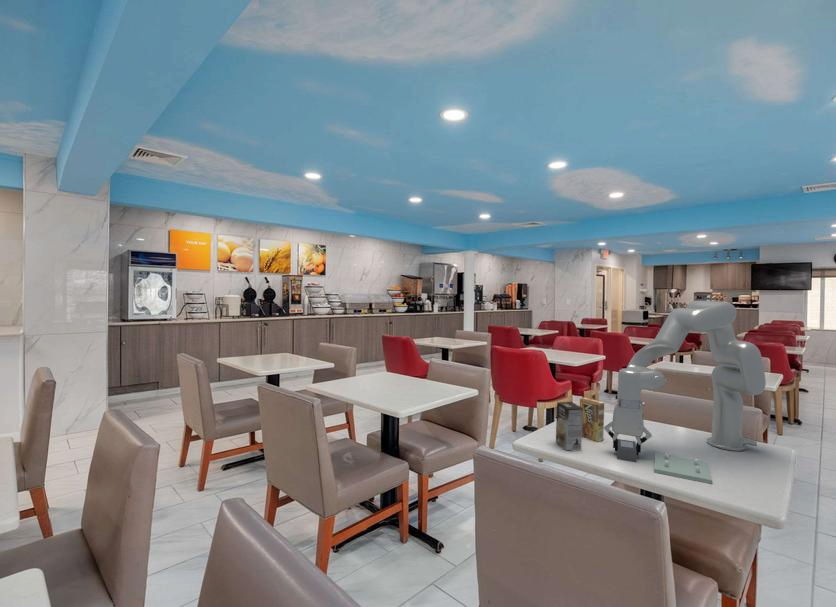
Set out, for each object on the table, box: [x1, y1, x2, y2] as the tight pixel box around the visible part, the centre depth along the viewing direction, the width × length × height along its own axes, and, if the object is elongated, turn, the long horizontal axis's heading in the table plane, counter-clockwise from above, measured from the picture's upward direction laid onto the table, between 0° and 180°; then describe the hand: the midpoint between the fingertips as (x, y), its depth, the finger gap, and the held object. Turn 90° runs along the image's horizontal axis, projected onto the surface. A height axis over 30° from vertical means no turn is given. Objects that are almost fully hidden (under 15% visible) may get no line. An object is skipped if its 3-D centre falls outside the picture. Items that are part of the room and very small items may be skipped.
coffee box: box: [555, 401, 583, 451], centre depth 166 cm, size 9×6×16 cm
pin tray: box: [653, 452, 713, 485], centre depth 147 cm, size 16×16×3 cm
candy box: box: [579, 397, 605, 442], centre depth 176 cm, size 9×4×15 cm, turn 33°
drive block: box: [616, 438, 638, 463], centre depth 158 cm, size 6×10×4 cm, turn 156°
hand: (626, 451), depth 158 cm, fingers closed on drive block, 6 cm apart
